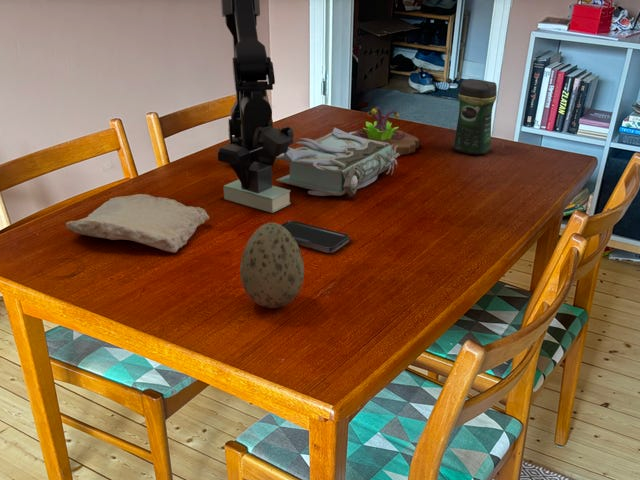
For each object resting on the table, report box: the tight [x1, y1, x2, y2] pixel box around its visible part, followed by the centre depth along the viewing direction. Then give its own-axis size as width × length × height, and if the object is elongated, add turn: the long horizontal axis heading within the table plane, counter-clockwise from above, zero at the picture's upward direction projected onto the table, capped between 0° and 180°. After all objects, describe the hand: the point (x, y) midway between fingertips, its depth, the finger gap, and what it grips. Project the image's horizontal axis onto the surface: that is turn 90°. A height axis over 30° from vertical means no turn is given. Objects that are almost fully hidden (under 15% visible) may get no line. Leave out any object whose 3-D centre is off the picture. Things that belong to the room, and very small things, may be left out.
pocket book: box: [223, 178, 292, 214], centre depth 168 cm, size 14×7×3 cm, turn 56°
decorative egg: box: [239, 222, 305, 309], centre depth 125 cm, size 11×11×15 cm
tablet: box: [65, 193, 210, 254], centre depth 151 cm, size 24×8×20 cm
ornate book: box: [275, 126, 401, 198], centre depth 181 cm, size 23×10×30 cm
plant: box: [347, 106, 420, 156], centre depth 201 cm, size 20×20×11 cm
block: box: [241, 161, 273, 193], centre depth 166 cm, size 5×5×5 cm
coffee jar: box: [453, 78, 498, 156], centre depth 198 cm, size 10×8×19 cm
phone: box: [280, 220, 350, 254], centre depth 152 cm, size 8×1×15 cm
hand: (256, 184), depth 167 cm, fingers open, 7 cm apart
